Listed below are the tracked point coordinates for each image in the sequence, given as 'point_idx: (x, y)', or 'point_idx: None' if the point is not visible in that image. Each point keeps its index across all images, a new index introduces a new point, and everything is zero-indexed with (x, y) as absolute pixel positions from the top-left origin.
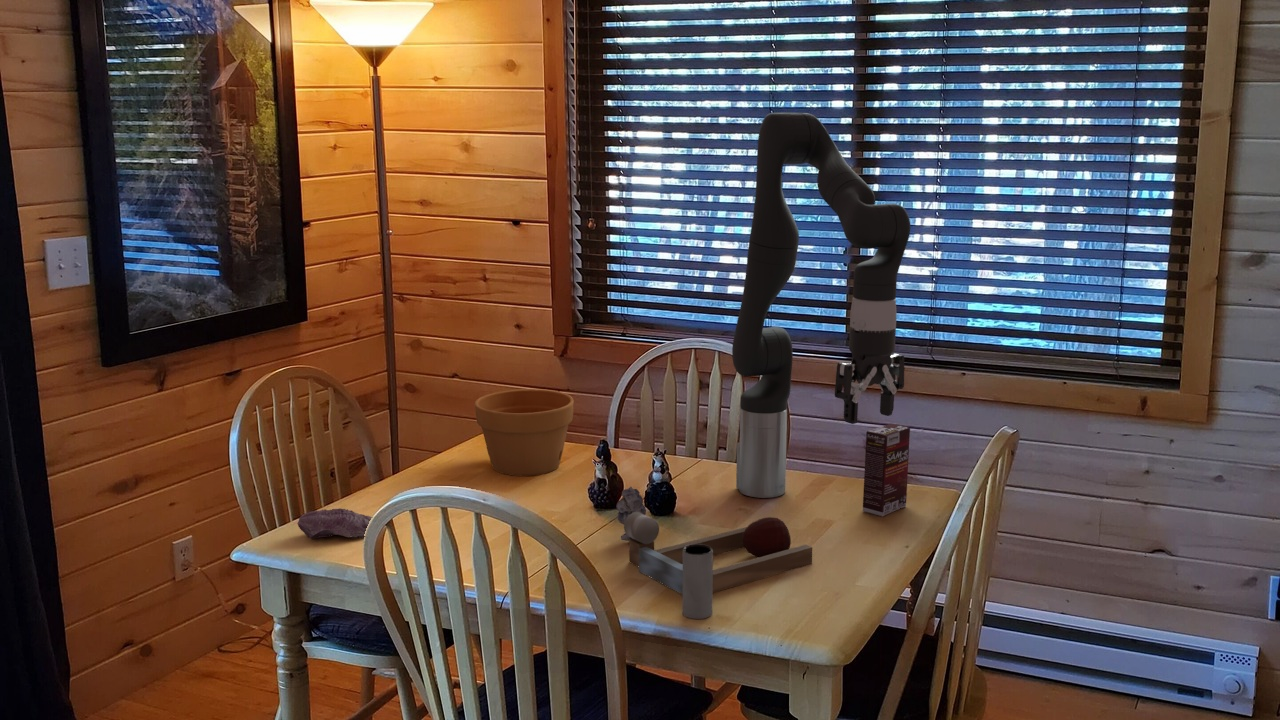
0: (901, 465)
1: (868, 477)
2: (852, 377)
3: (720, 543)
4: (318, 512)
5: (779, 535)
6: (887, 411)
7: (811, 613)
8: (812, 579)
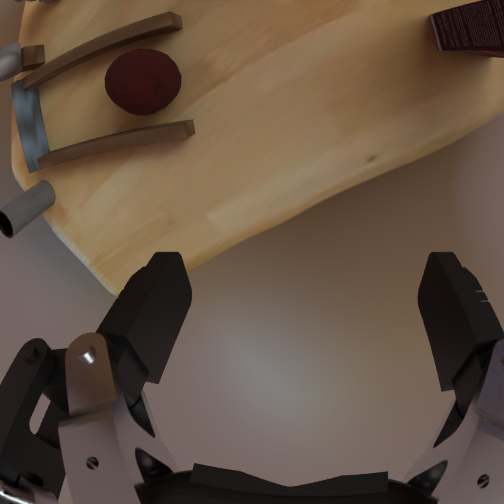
0: None
1: (461, 15)
2: (92, 493)
3: (100, 50)
4: None
5: (137, 112)
6: (424, 305)
7: (126, 244)
8: (167, 176)
